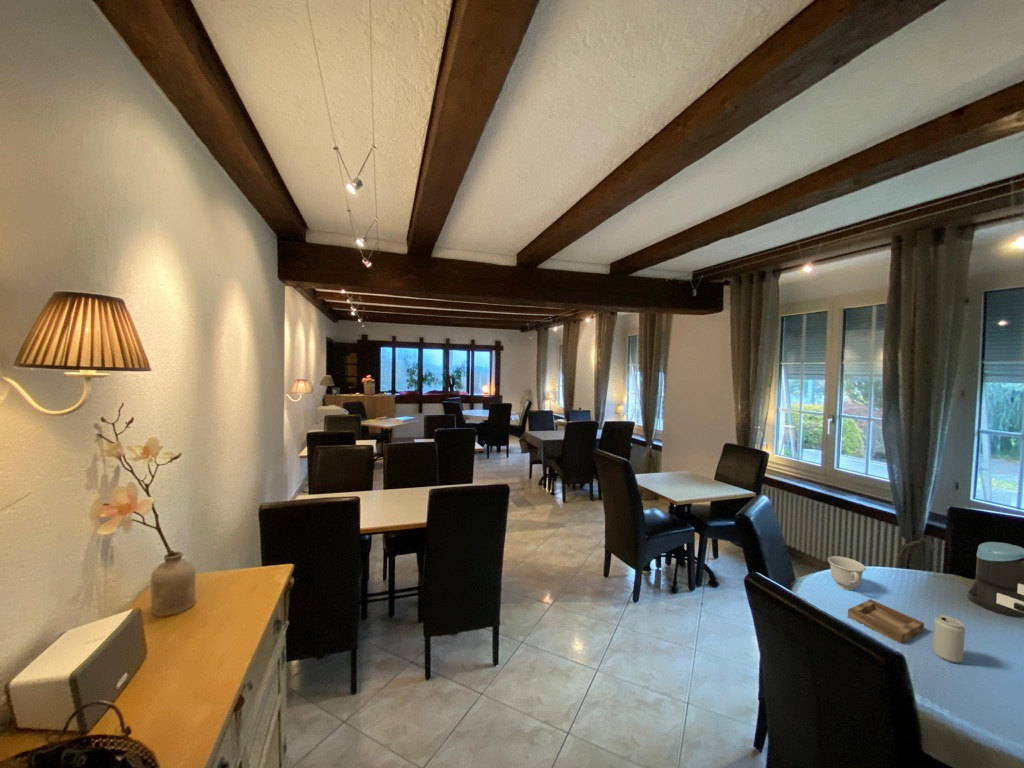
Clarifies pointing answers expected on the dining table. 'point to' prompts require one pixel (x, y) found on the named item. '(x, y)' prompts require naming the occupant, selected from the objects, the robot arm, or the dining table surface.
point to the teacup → (846, 572)
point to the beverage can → (948, 638)
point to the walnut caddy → (886, 621)
